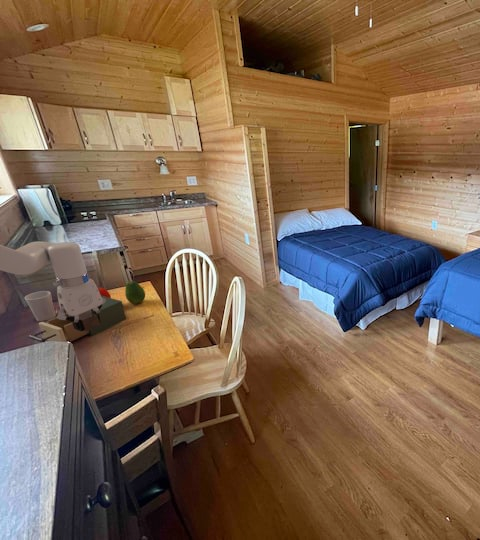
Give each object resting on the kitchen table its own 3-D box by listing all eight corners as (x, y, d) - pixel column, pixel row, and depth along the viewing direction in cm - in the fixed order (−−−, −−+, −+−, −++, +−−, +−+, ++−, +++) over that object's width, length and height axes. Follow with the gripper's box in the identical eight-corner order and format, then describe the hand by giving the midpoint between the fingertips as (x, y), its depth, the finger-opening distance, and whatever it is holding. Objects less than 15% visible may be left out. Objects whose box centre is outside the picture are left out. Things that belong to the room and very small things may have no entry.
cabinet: (91, 336, 126) (85, 316, 122) (70, 329, 129) (64, 310, 125) (126, 319, 139) (121, 301, 135) (106, 313, 142) (101, 295, 138)
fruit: (148, 303, 153) (143, 282, 148) (129, 308, 147) (124, 286, 143) (145, 297, 158) (140, 277, 153) (126, 302, 152) (121, 281, 148)
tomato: (78, 312, 141) (71, 291, 137) (99, 301, 151) (93, 282, 147) (98, 315, 140) (91, 294, 136) (118, 304, 150) (112, 285, 146)
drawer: (49, 353, 113) (42, 336, 110) (29, 346, 116) (21, 329, 113) (101, 328, 129) (96, 313, 126) (82, 322, 132) (77, 307, 129)
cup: (62, 317, 137) (54, 293, 132) (39, 325, 130) (30, 301, 125) (53, 312, 139) (45, 289, 135) (30, 320, 133) (20, 296, 128)
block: (86, 331, 103) (82, 320, 102) (76, 328, 104) (73, 317, 103) (100, 325, 107) (96, 314, 106) (91, 322, 108) (87, 311, 107)
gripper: (49, 292, 90) (67, 342, 97) (108, 272, 105) (120, 317, 112) (33, 287, 92) (52, 336, 99) (93, 269, 107) (106, 312, 114)
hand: (88, 325), depth 106 cm, fingers closed on block, 4 cm apart
